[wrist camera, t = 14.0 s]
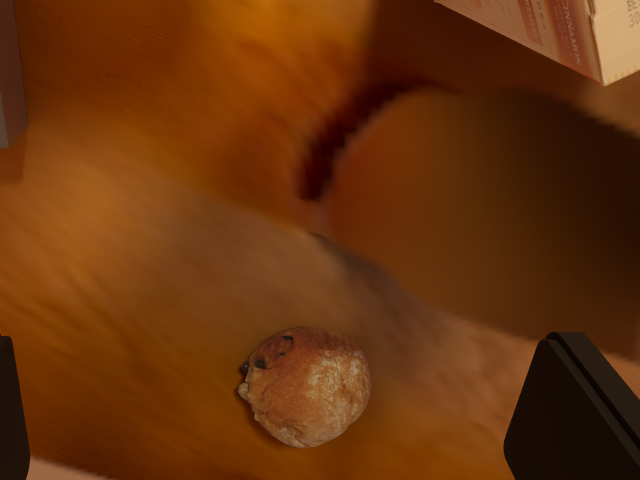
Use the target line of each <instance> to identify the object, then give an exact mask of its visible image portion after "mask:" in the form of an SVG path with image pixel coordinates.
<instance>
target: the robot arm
mask: <svg viewBox="0 0 640 480" xmlns="http://www.w3.org/2000/svg"><path fill="white" fill-rule="evenodd" d="M504 455H505V459H506V461H507V463H508V465H509V467H510V469H511V471H512V473H513V475H514V477H515V480H640V400H639V399H638V397H637V396H636V395H635V394H634V393H633V391H632V390H631V389H630V388H629V386H628V385H627V384H626V383H625V382H624V380H623V379H622V378H621V377H620V376H619V374H618V373H617V372H616V371H615V369H614V368H613V367H612V366H611V365H610V363H609V362H608V361H607V360H606V358H605V357H604V356H603V355H602V354H601V352H600V351H599V350H598V349H597V348H596V346H595V345H594V344H593V343H592V342H591V340H590V339H589V338H588V337H587V336H586V335H585V334H584V333H581V332H551V333H549V334H548V335H547V337H546V339H543V340H541V341H540V342H539V343H538V345H537V348H536V351H535V353H534V356H533V359H532V362H531V365H530V368H529V371H528V374H527V376H526V379H525V382H524V385H523V388H522V391H521V394H520V396H519V399H518V402H517V405H516V408H515V411H514V414H513V417H512V419H511V422H510V425H509V428H508V431H507V434H506V437H505V440H504ZM29 464H30V450H29V444H28V437H27V431H26V425H25V418H24V412H23V406H22V400H21V393H20V387H19V381H18V375H17V368H16V362H15V356H14V349H13V343H12V340H11V338H10V337H9V336H1V335H0V480H26V477H27V474H28V469H29Z"/></svg>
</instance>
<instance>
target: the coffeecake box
mask: <svg viewBox="0 0 640 480" xmlns="http://www.w3.org/2000/svg"><path fill="white" fill-rule="evenodd" d="M433 1H434V2H435V3H439V4H442V5H444V6H445V7H448V8H450V9H452V10H454V11H456V12H458V13H460V14H462V15H464V16H466V17H468V18H470V19H472V20H474V21H476V22H478V23H480V24H482V25H484V26H486V27H488V28H490V29H492V30H494V31H496V32H498V33H500V34H502V35H504V36H506V37H508V38H510V39H512V40H514V41H516V42H518V43H520V44H522V45H524V46H526V47H528V48H530V49H532V50H534V51H536V52H538V53H540V54H542V55H544V56H546V57H548V58H550V59H552V60H554V61H556V62H558V63H560V64H562V65H564V66H566V67H568V68H570V69H572V70H574V71H576V72H578V73H580V74H582V75H584V76H586V77H588V78H590V79H592V80H594V81H596V82H598V83H599V84H601V85H602V86H607V85H609V84H611V83H613V82H615V81H617V80H620V79H622V78H624V77H626V76H628V75H630V74H632V73H635V72H637V71H639V70H640V0H433Z"/></svg>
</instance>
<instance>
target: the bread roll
mask: <svg viewBox="0 0 640 480" xmlns="http://www.w3.org/2000/svg"><path fill="white" fill-rule="evenodd" d="M240 368H241V370H242V372H243V373H244V375H245V376H246V380H245V381H246V382H245V383H242V384H240V385H239V388H238V393H239V394H240V395H241V397H242V398H244V399H245V400H247V401H248V402H249V404H251V408H252V410H253V412H255V415H254V420H256V421H258V422H259V424H260V425H261V426H262V427H263V428H264V429H265V430H266V431H267V432H269V433H270V434H271V435H272V436H273V437H275V438H276V439H278V440H279V441H281V442H283V443H284V444H286V445H289V446H293V447H297V448H309V447H315V446H317V445H320V444H322V443H325V442H328V441H329V440H331V439H333V438H336V437H337V436H339V435H340V434H342V433H343V432H344V431H345V430H346V429H347V427H348V426H349V425H350V424H351V423H352V422H354V421H355V420H356V419H357V418H358V417H359V416H360V415H361V414H362V412H363V411H364V409H365V408H366V406H367V403H368V401H369V399H370V394H371V390H372V372H371V368H370V364H369V362H368V360H367V358H366V356H365V354H364V352H363V351H362V350H361V349H360V347H359V346H358V345H357V344H356V343H355V342H354V341H353V340H352V339H351V338H349V337H347V336H346V335H344V334H342V333H339V332H334V331H331V330H325V329H321V328H312V327H297V328H292V329H288V330H285V331H281V332H278V333H276V334H274V335H272V336H271V337H269V338H268V339H266V340H265V341H264V342H262V343H261V344H260V345H259V346H258V348H256V349H255V351H254V352H253V353H252V355H251V356H250V358H249V360H248V361H247V362H246V363H244V364H243V365H241V366H240Z"/></svg>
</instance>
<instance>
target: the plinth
mask: <svg viewBox="0 0 640 480" xmlns="http://www.w3.org/2000/svg"><path fill="white" fill-rule="evenodd" d="M27 126H28V117H27V109H26V101H25V93H24V84H23V76H22V68H21V60H20V51H19V43H18V35H17V27H16V18H15V10H14V2H13V0H0V148H9V147H10V146H11V145H12V144H13V143H14V141H15V140H16V139H17V138H18V137H19V136H20V135H21V133H22V132H23V131H24V130H25V129H26V128H27Z"/></svg>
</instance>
